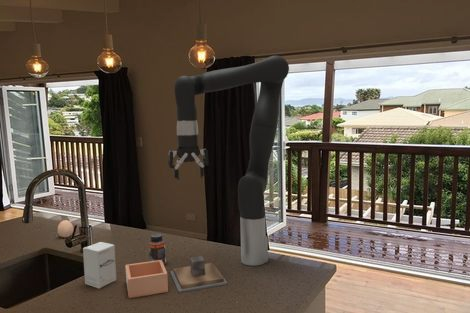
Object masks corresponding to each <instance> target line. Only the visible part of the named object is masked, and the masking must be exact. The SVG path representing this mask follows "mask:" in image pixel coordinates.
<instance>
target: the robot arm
mask: <svg viewBox="0 0 470 313" xmlns="http://www.w3.org/2000/svg"><path fill="white" fill-rule="evenodd" d="M289 71H290V67H289V63H288V61H287V60H286V58H285V57H283V56H280V55H270V56H268V57H267V58H264V59H262V60H260V61H257V62H254V63H250V64H246V65H242V66H236V67H228V68H227V67H226V68H221V69H216V70H211V71H207V72H204V73H202V74H198V75H192V76H188V75H181V76H179V77H178V78H177V79H175V82H174V85H173V87H174V97H175V98H174V99H175V103H176V120H177V121H176V141H177V142H176V144H177V147H176V150H169V151H168V164H167V166H168V167H169V169H173V177H174V178H175V179H176V180H177V181H179V180H180V174H179V173H180V172H179V170H180V169H179V168H180V166H181V165H182V164H183V163H188V162H189V163H194V162H196V164H197V165H198V176H199V179H201V178H203V177H204V176H205V170H204V169H205V167H206V166H209V164H210V161H209V153H208V152H209V151H208V149H207V148H203V149H202V148H201V149H200V147H199V126H198V110H197V106H196V101H195V100H196V97H195V96H198V95H203V94H206V93H213V92H218V91H223V90H228V89H229V90H230V89H233V88H236V87H240V86H244V85H249V84H256V83H260V84H259V85H260V86H259V87H260V88H259V93H258V98H257V101H256V105H255V106H254V111H253V115H252V118H251V119H252V120H251V123H250V124H251V125H250V131H249V139H248V140H249V161H248V166H247V169H246V173H245V175H243V176H242V177H241V178H240V179H239V181H238V185H237V204H238V205H237V206H238V211H239V215H240V217H239V218H240V221H239V222H240V224H239V225H240V262H241V263H242V264H243V265H245V266H261V265H264V264H266V263H268V262H269V252H268V248H269V246H268V245H269V244H268V241H269V238H268V236H267V235H266V234H267V233H266V209H265V206H264V192H265V191H266V189H267V185H268V174H269V164H270V159H271V155H272V151H273V147H274V144H275V139H276V136H277V135H276V134H277V130H278V124H279V123H278V122H279V109H280V108H279V105H280V103H279V102H280V97H281V96H280V94H281V91H282V87H283V84H284V80H285V79H286V78H287V77H288V75H289V73H290V72H289ZM200 154H201V155H202V157H203V162H202V161H201V159H200V158H199V155H200ZM176 155H177V157H178V158H177V159H176V162H175V163H174V158H175V157H176Z"/></svg>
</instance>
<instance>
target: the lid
mask: <svg viewBox="0 0 470 313" xmlns="http://www.w3.org/2000/svg"><path fill="white" fill-rule="evenodd" d="M189 262H190V264H189V265H188V266H183V267H176V268H173V269H172V271H174V274H175V276H176V278H177V280H178V283H179V285H180V287H181V289H185V288H190V287H196V286H202V285H208V284H214V283H220V282H224V279H225V277H224V276H223V274H220V273H221V272H220V270H219V269H218V268H217V267H216V266H214V265H215V264H214V263H213V262H208V263H205V259H204V258H203V256H193V257H190V258H189ZM216 268H217V269H218V270H217V269H216ZM219 272H220V273H219ZM222 276H223V277H224V278H223V277H222Z"/></svg>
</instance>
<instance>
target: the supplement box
mask: <svg viewBox="0 0 470 313" xmlns="http://www.w3.org/2000/svg"><path fill="white" fill-rule="evenodd" d="M115 249H116V248H115V244H113V243H108V242H103V241H99V242H96V243H93V244H91V245H89V246H85V247H83V248H82V252H83V254H82V256H83V270H84V271H83V272H84V284H85V285H88V286H91V287H93V288H96V289H98V290H99V289H101V288H103V287H104V286H107V285H109V284H112V283H114V282H115V281H117V267H116V250H115Z"/></svg>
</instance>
